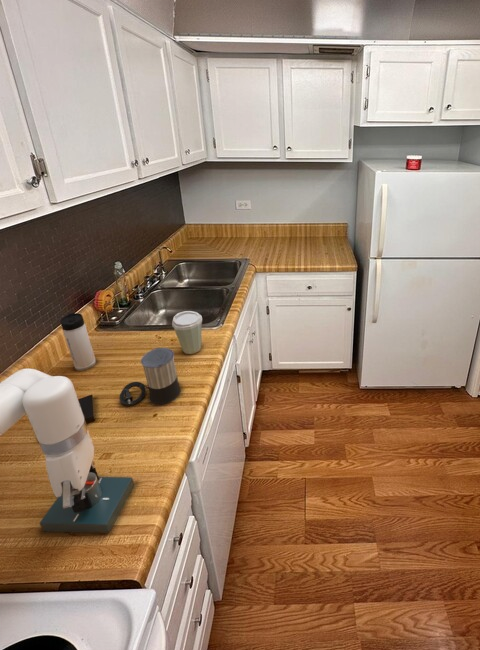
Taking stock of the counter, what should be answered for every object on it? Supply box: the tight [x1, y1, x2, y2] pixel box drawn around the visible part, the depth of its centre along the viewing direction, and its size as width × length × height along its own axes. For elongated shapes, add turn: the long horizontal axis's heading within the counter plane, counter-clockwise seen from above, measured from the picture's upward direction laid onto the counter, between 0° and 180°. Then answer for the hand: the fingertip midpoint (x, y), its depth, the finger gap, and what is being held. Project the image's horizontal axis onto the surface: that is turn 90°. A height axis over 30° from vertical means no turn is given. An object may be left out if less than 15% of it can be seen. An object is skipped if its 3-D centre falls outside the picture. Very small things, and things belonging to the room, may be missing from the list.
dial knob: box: [73, 472, 102, 510], centre depth 72 cm, size 5×5×5 cm
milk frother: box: [119, 347, 182, 407], centre depth 102 cm, size 14×16×15 cm
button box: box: [78, 394, 96, 425], centre depth 96 cm, size 12×10×4 cm
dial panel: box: [39, 476, 135, 534], centre depth 73 cm, size 14×10×3 cm
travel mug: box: [60, 312, 97, 372], centre depth 115 cm, size 6×7×20 cm
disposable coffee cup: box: [171, 310, 203, 355], centre depth 124 cm, size 11×11×15 cm
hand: (87, 495), depth 72 cm, fingers closed on dial knob, 5 cm apart
